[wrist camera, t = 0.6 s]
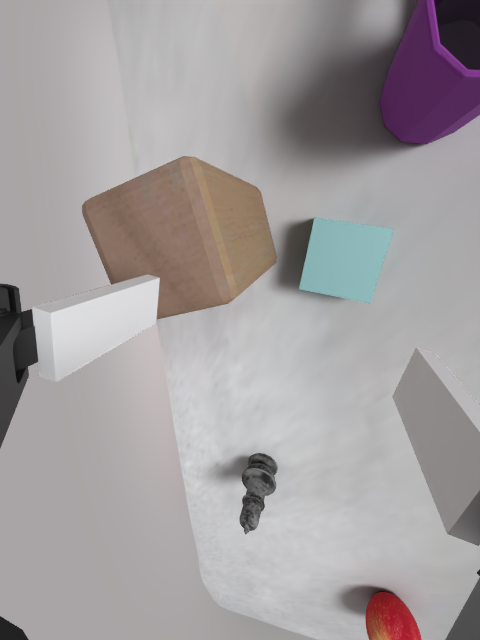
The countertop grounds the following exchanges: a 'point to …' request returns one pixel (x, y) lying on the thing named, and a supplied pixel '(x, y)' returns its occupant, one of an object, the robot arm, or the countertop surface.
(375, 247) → the teal block
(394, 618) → the apple
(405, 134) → the mug
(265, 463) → the grey chess piece
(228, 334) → the countertop surface
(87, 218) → the wooden block
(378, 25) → the countertop surface
